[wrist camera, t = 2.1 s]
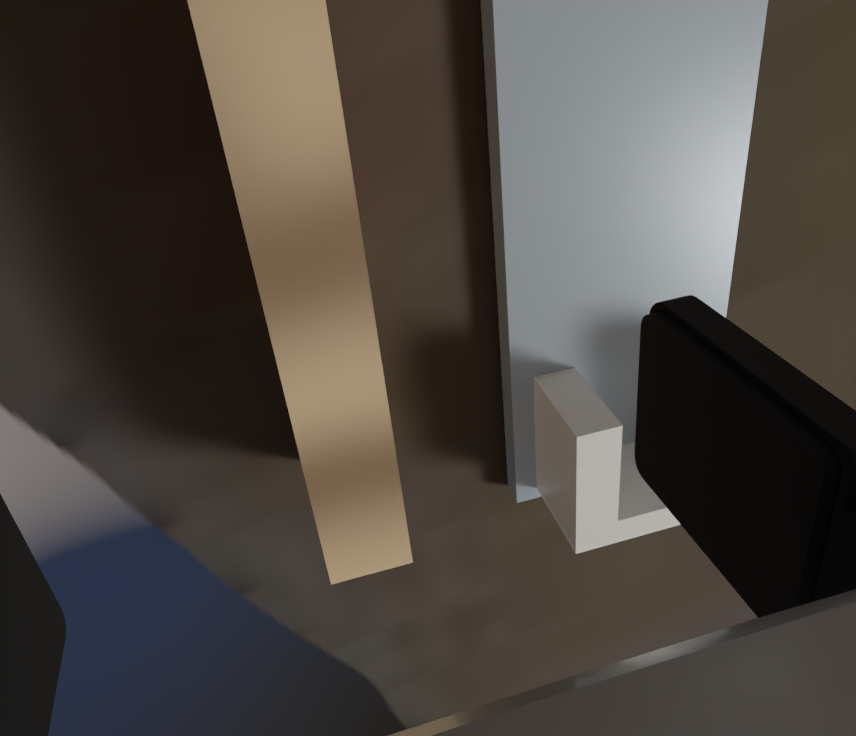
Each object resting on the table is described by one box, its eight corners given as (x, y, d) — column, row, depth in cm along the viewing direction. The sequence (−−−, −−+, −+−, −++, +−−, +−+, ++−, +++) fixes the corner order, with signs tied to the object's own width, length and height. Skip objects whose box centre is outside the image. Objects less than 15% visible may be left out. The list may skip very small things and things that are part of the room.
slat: (124, -296, 15) (90, -394, 10) (241, -304, 16) (262, -403, 11) (305, 456, 26) (330, 584, 21) (372, 440, 27) (413, 562, 22)
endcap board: (448, -566, 14) (536, -732, 11) (813, -573, 16) (1004, -723, 12) (507, 486, 29) (553, 570, 25) (694, 437, 30) (763, 510, 27)
